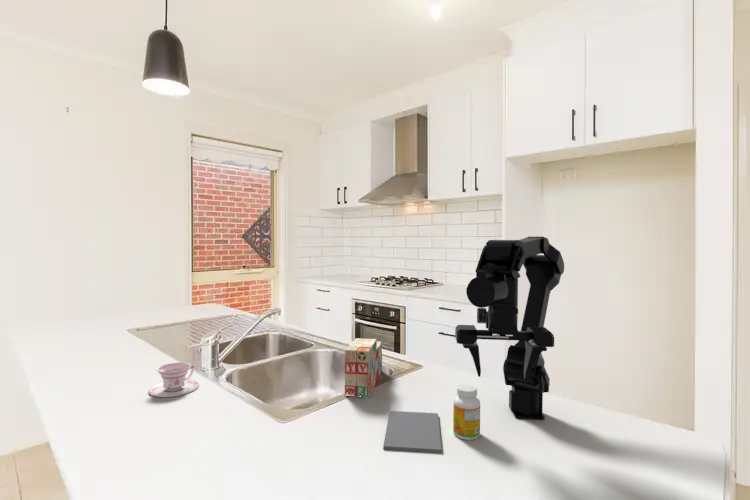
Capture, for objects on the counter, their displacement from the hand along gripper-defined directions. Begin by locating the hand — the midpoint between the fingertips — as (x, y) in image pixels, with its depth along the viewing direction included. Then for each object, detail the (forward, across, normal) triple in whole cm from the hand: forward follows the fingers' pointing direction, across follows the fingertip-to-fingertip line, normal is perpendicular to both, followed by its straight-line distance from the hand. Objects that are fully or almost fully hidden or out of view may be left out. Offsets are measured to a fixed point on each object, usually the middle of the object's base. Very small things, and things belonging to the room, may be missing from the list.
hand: (502, 377), depth 83 cm
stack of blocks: (+12, +32, -26) cm, 43 cm away
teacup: (+12, +82, -14) cm, 84 cm away
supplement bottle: (+12, +7, +1) cm, 14 cm away
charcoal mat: (+12, +18, +1) cm, 22 cm away
